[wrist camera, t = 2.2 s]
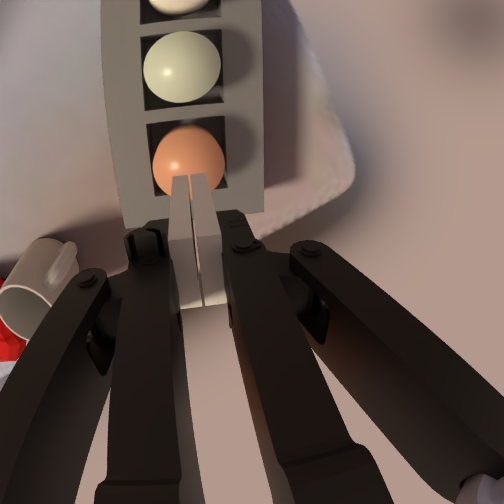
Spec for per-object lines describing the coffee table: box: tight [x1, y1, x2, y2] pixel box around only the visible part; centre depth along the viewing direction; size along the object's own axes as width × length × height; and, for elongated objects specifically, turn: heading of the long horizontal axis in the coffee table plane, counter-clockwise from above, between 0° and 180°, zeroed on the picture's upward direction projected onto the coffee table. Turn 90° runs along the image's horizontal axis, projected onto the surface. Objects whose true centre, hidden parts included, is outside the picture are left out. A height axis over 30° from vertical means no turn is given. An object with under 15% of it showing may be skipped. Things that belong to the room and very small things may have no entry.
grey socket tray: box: [101, 0, 264, 229], centre depth 22 cm, size 12×25×5 cm, turn 1°
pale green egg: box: [143, 31, 221, 103], centre depth 19 cm, size 5×5×4 cm
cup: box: [0, 238, 79, 341], centre depth 26 cm, size 7×10×9 cm
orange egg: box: [153, 124, 225, 200], centre depth 22 cm, size 5×5×4 cm
